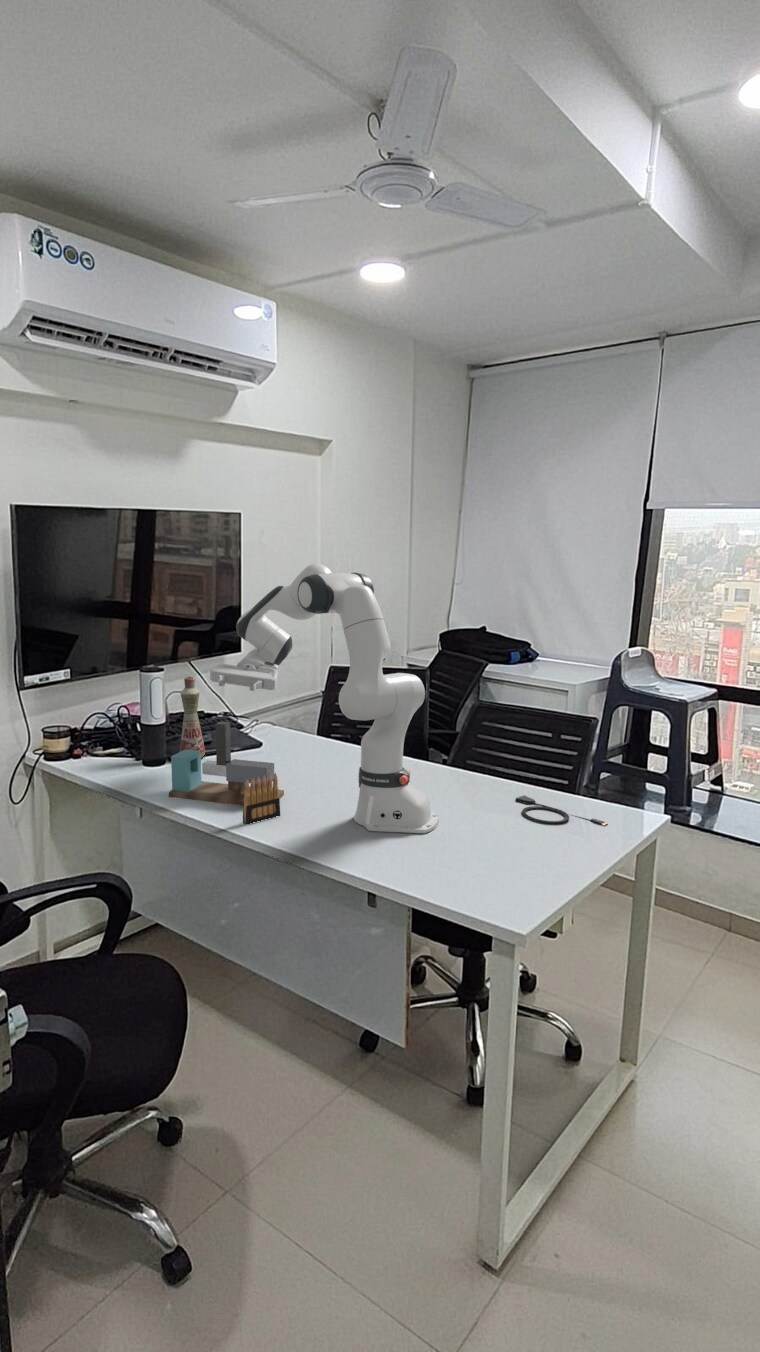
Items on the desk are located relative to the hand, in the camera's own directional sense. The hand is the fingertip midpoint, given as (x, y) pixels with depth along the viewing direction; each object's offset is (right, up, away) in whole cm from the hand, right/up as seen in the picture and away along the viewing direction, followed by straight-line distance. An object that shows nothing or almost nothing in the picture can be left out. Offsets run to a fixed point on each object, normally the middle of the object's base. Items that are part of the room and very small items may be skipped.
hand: (236, 686), depth 226 cm
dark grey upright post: (0, -26, -4) cm, 26 cm away
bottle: (-21, -25, +36) cm, 48 cm away
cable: (+88, -36, -14) cm, 96 cm away
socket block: (-15, -29, +1) cm, 33 cm away
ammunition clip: (+10, -35, -20) cm, 42 cm away
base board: (-2, -32, -2) cm, 32 cm away
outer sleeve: (+5, -27, -5) cm, 28 cm away
